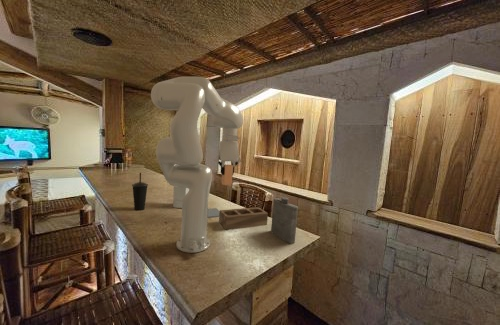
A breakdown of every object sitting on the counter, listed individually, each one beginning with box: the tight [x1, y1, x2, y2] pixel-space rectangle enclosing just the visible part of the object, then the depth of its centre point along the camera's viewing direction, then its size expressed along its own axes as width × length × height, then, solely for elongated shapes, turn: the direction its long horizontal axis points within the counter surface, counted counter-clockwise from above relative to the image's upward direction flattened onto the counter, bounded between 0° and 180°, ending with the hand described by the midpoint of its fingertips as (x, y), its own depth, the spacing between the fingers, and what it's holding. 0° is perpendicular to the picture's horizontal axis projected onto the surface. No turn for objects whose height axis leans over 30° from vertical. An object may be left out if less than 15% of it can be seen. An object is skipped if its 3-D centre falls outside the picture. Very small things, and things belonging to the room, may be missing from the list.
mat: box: [207, 207, 220, 219], centre depth 121 cm, size 12×12×1 cm
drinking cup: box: [131, 172, 149, 212], centre depth 118 cm, size 8×8×20 cm
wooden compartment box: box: [218, 206, 269, 231], centre depth 110 cm, size 10×22×6 cm, turn 117°
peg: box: [221, 164, 234, 186], centre depth 114 cm, size 4×4×10 cm
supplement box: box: [172, 186, 189, 209], centre depth 129 cm, size 7×7×13 cm
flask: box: [270, 196, 299, 245], centre depth 98 cm, size 4×14×18 cm, turn 34°
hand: (227, 174), depth 114 cm, fingers closed on peg, 4 cm apart
